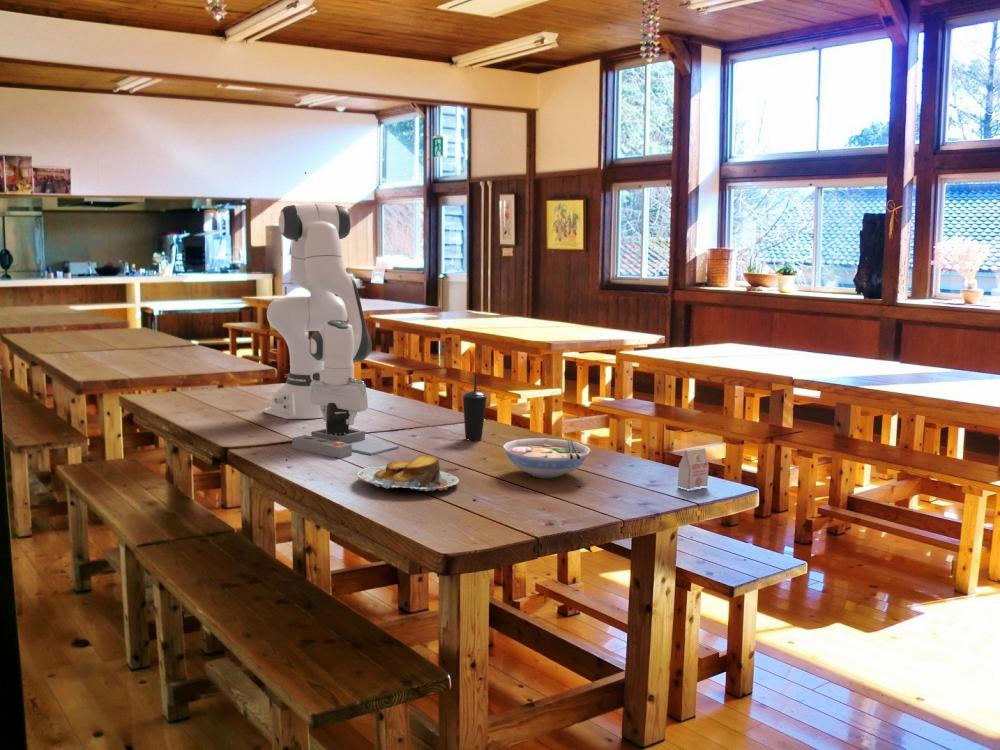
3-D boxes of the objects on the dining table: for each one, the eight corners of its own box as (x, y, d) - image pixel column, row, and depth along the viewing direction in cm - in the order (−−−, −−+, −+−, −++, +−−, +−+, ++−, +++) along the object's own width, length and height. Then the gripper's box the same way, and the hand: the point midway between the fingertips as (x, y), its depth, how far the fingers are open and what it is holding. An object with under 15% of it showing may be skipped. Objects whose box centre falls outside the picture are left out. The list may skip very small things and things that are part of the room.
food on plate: (348, 475, 246) (348, 450, 245) (441, 470, 255) (442, 446, 254) (369, 502, 223) (370, 474, 222) (472, 496, 231) (473, 469, 230)
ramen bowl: (503, 462, 265) (504, 432, 264) (586, 465, 265) (588, 436, 263) (500, 485, 240) (501, 453, 239) (592, 489, 240) (593, 457, 239)
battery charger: (329, 442, 282) (329, 403, 280) (324, 439, 285) (324, 401, 283) (351, 440, 285) (352, 402, 283) (347, 437, 288) (347, 399, 287)
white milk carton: (677, 488, 244) (679, 449, 243) (696, 484, 248) (699, 446, 247) (687, 491, 241) (690, 452, 240) (707, 488, 245) (709, 449, 243)
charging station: (283, 446, 274) (283, 433, 274) (337, 434, 293) (337, 422, 292) (339, 458, 263) (339, 445, 262) (391, 445, 281) (392, 432, 280)
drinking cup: (456, 440, 290) (458, 374, 287) (466, 435, 297) (468, 371, 294) (480, 443, 287) (482, 376, 284) (489, 438, 294) (491, 373, 291)
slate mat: (339, 448, 274) (339, 446, 274) (367, 441, 284) (367, 439, 284) (371, 455, 267) (371, 453, 267) (399, 448, 277) (399, 445, 277)
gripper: (372, 379, 279) (372, 426, 281) (321, 371, 290) (321, 416, 292) (358, 381, 274) (357, 429, 276) (306, 373, 285) (306, 419, 287)
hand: (338, 422), depth 284 cm, fingers open, 8 cm apart
